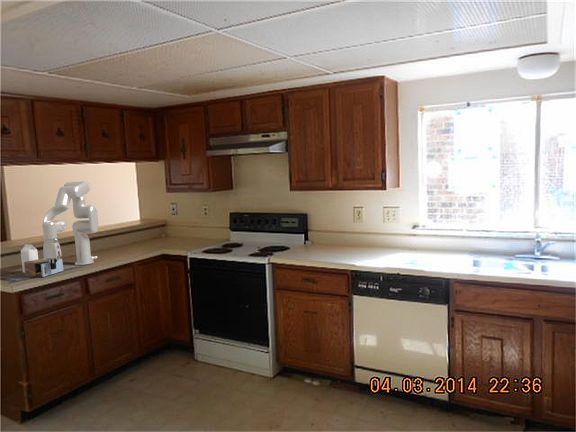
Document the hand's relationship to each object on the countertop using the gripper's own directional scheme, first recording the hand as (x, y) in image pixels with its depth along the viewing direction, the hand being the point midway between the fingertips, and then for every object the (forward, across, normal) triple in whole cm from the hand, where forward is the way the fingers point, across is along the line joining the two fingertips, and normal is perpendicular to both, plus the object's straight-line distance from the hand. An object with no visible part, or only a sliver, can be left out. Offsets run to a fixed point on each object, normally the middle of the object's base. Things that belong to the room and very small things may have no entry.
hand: (53, 269), depth 287 cm
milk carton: (+4, +26, -10) cm, 28 cm away
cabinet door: (+4, +3, -3) cm, 5 cm away
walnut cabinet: (+4, +13, -6) cm, 15 cm away
